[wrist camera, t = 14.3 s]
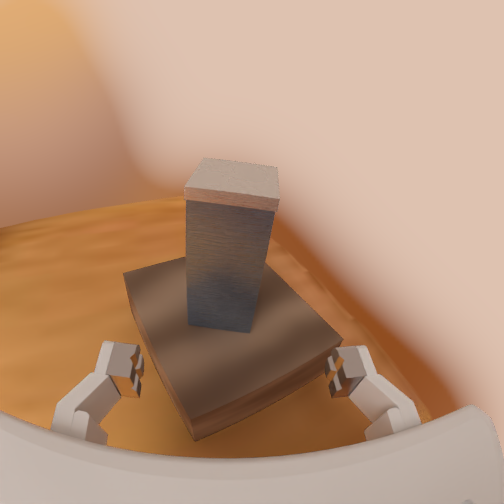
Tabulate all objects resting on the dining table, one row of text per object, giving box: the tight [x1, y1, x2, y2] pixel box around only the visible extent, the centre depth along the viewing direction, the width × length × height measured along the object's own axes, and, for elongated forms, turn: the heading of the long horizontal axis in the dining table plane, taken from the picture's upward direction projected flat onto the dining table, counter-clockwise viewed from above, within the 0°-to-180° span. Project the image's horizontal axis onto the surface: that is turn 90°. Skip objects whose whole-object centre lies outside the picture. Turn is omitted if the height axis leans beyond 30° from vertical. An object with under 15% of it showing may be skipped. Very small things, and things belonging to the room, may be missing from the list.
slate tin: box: [184, 158, 280, 333], centre depth 21 cm, size 5×5×12 cm
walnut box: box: [123, 257, 343, 441], centre depth 26 cm, size 16×14×6 cm
